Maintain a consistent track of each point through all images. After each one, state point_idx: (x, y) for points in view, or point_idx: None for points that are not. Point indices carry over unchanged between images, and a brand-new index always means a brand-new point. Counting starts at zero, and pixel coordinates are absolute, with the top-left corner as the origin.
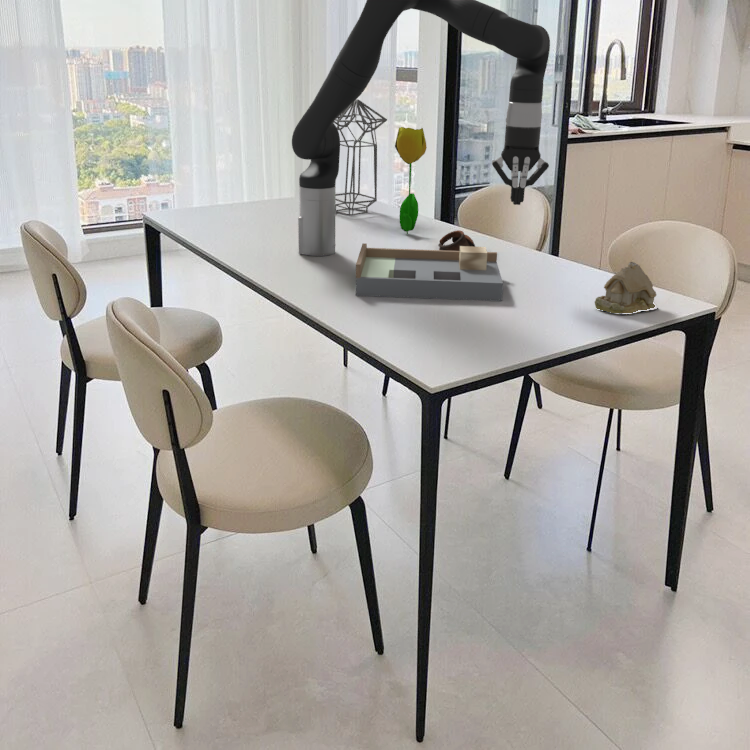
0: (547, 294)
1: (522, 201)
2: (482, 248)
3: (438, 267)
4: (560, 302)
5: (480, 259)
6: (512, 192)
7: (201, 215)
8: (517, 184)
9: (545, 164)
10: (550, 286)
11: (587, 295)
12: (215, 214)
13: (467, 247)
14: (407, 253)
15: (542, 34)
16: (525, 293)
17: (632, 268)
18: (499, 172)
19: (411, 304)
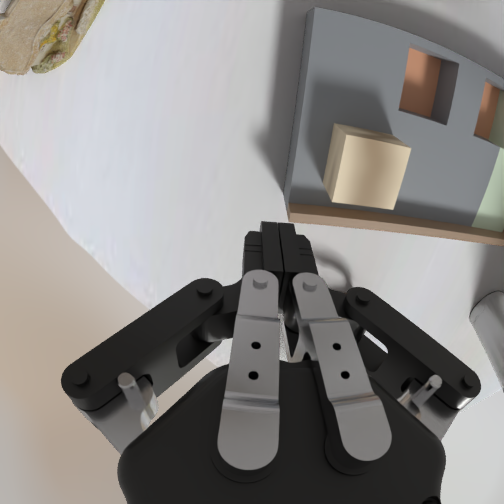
0: (187, 66)
1: (250, 233)
2: (345, 185)
3: (430, 154)
4: (170, 12)
5: (357, 132)
6: (310, 264)
7: (491, 387)
8: (295, 286)
9: (83, 390)
10: (170, 129)
11: (104, 75)
12: (481, 392)
13: (380, 195)
14: (461, 229)
15: None
16: (238, 68)
17: (4, 13)
18: (425, 343)
19: (474, 30)
